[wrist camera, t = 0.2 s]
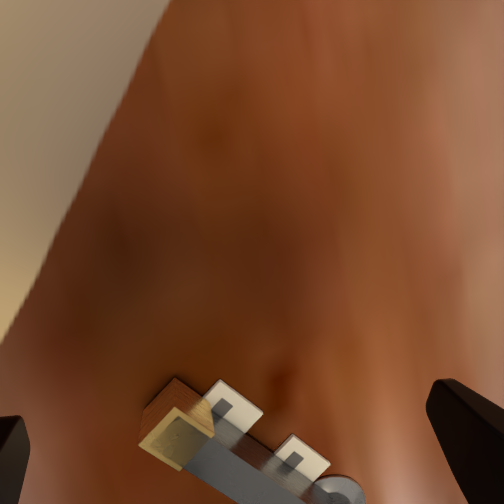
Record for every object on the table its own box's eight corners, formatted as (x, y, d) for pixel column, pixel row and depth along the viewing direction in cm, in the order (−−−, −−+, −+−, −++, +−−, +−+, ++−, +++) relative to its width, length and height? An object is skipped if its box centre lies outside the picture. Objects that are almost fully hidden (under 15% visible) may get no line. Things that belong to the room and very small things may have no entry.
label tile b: (202, 473, 27) (203, 477, 26) (157, 443, 25) (157, 448, 25) (262, 411, 26) (263, 414, 26) (219, 378, 25) (220, 381, 25)
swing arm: (360, 507, 29) (384, 551, 26) (328, 539, 30) (347, 588, 26) (178, 373, 24) (178, 408, 21) (139, 414, 24) (133, 455, 21)
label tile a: (272, 518, 29) (274, 522, 28) (234, 493, 27) (234, 497, 27) (328, 461, 28) (331, 465, 28) (292, 433, 27) (293, 437, 27)
